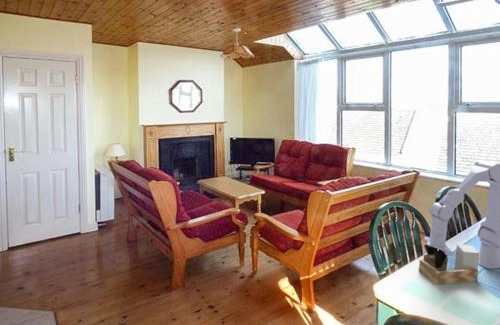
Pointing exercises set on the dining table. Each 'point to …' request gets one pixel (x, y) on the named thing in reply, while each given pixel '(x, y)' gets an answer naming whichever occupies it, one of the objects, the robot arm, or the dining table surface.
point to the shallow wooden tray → (447, 274)
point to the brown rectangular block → (431, 260)
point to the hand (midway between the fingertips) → (434, 264)
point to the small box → (466, 257)
